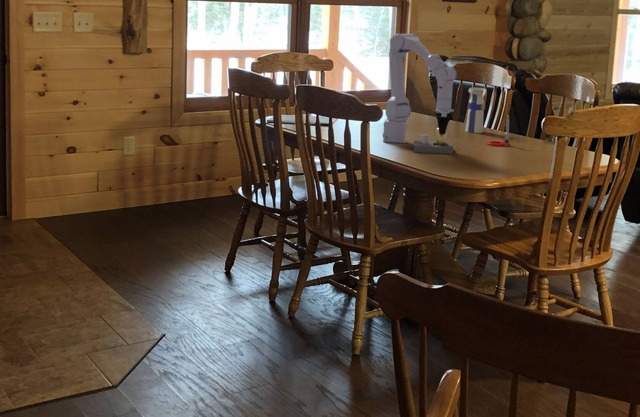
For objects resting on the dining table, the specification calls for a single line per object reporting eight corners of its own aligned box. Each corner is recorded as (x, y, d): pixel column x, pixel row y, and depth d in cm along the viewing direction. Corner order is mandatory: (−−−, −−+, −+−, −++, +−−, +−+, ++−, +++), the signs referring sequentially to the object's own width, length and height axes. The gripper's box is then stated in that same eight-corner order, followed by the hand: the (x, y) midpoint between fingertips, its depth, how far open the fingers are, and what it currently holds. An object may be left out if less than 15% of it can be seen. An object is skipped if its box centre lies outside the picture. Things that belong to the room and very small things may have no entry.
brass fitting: (434, 151, 342) (436, 128, 339) (434, 149, 346) (436, 127, 344) (446, 152, 341) (447, 129, 339) (446, 150, 345) (447, 127, 343)
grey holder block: (414, 151, 339) (415, 136, 338) (413, 146, 350) (414, 132, 348) (452, 154, 338) (453, 138, 336) (451, 148, 348) (452, 134, 347)
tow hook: (485, 146, 359) (507, 147, 357) (486, 115, 356) (509, 116, 354) (487, 143, 367) (509, 144, 364) (488, 112, 364) (510, 113, 361)
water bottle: (486, 131, 394) (491, 76, 387) (479, 133, 387) (484, 77, 380) (469, 129, 398) (474, 74, 391) (462, 131, 391) (466, 75, 384)
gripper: (455, 101, 331) (452, 136, 334) (453, 96, 345) (450, 129, 348) (437, 100, 331) (434, 135, 335) (435, 95, 345) (433, 128, 349)
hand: (441, 132), depth 342 cm, fingers open, 7 cm apart
